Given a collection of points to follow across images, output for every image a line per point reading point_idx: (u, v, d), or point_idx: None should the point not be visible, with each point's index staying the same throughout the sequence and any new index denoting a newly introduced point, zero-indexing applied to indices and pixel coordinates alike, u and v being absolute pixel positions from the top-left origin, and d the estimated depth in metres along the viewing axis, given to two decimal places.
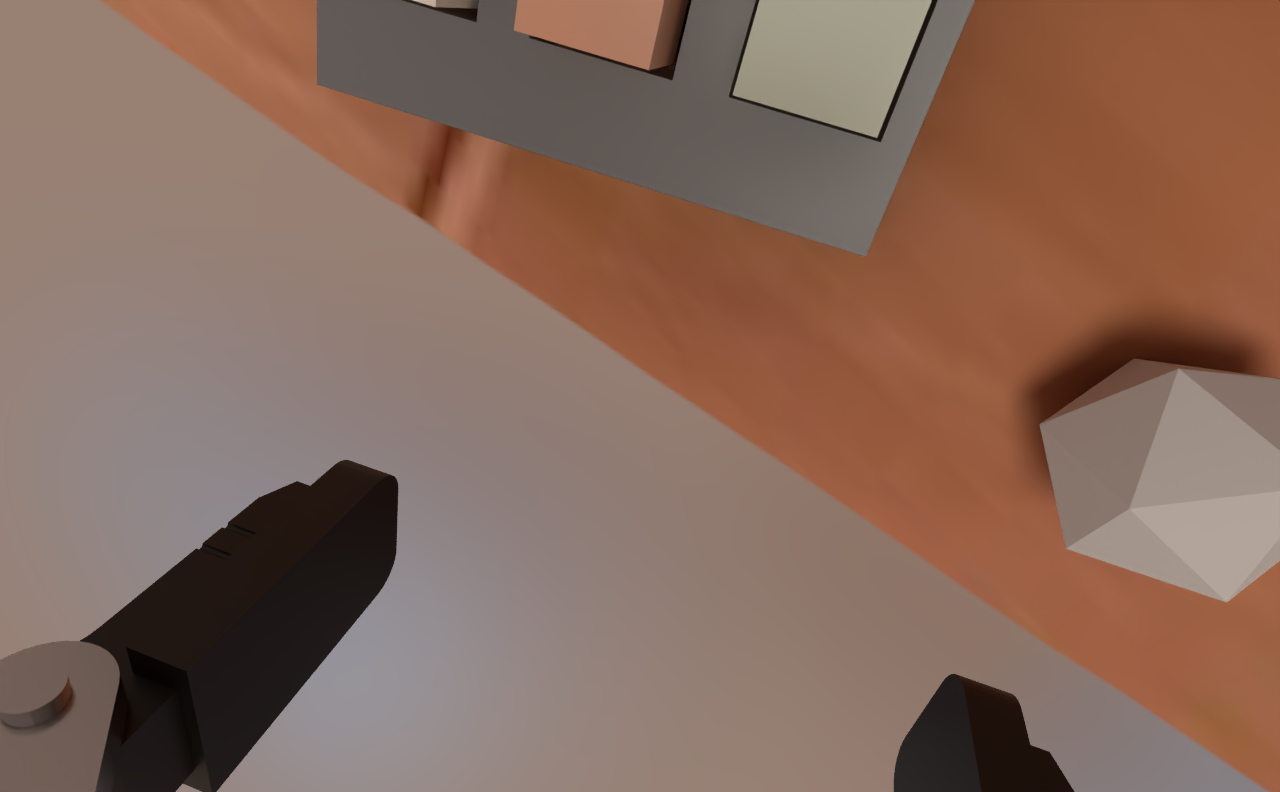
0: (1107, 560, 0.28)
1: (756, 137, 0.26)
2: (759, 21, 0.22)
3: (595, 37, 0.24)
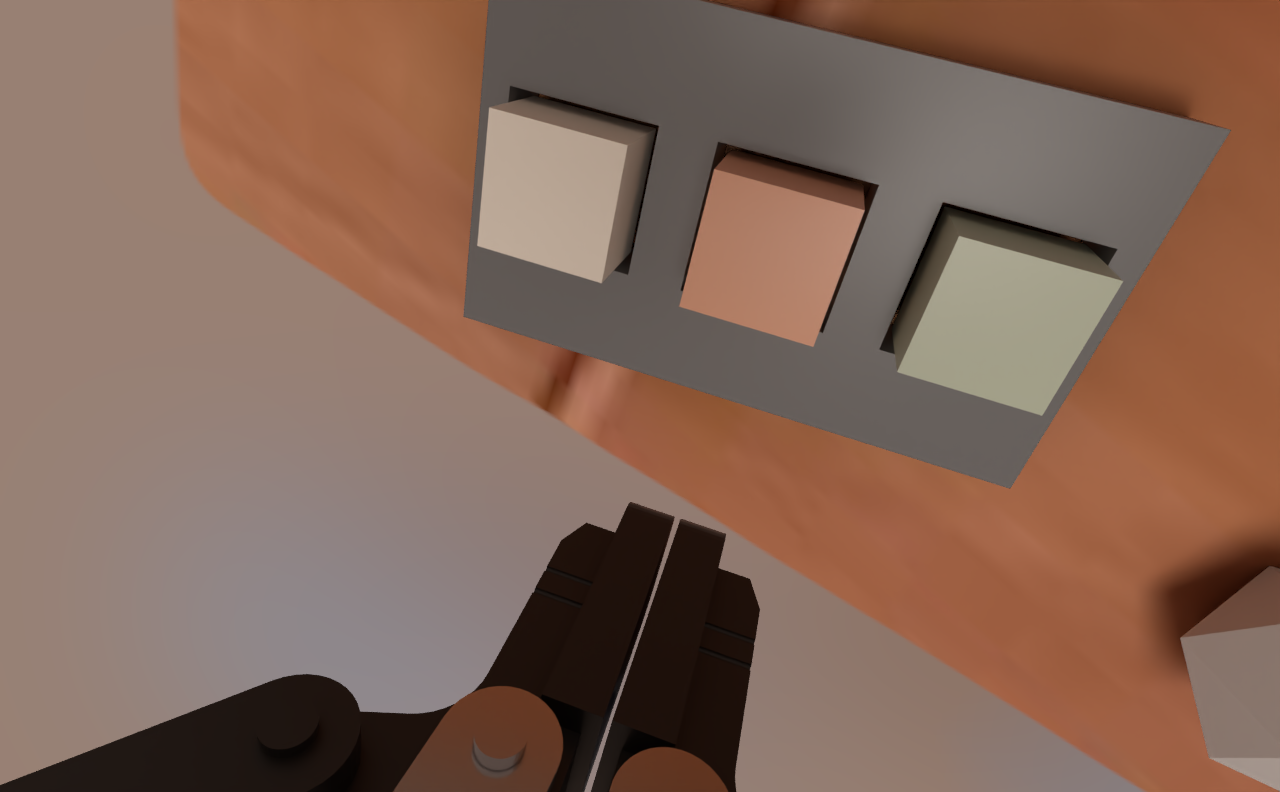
0: (1255, 778, 0.28)
1: (905, 383, 0.27)
2: (929, 315, 0.23)
3: (762, 317, 0.25)
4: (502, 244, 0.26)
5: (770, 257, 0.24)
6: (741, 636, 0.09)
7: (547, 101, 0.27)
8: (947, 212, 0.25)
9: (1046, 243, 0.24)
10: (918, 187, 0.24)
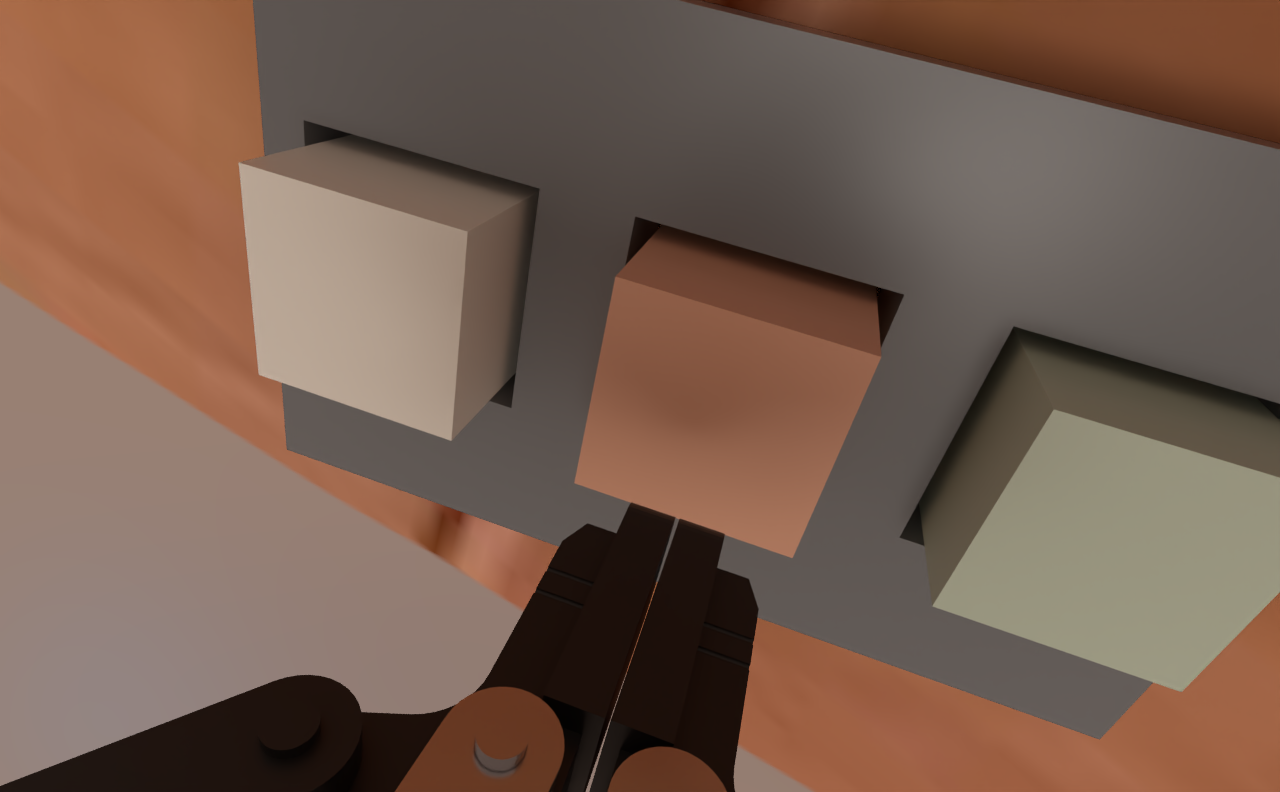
0: None
1: None
2: (992, 529, 0.13)
3: (707, 509, 0.15)
4: (295, 374, 0.16)
5: (718, 422, 0.14)
6: (740, 635, 0.09)
7: (375, 142, 0.17)
8: (1018, 337, 0.15)
9: (1194, 401, 0.14)
10: (972, 301, 0.14)
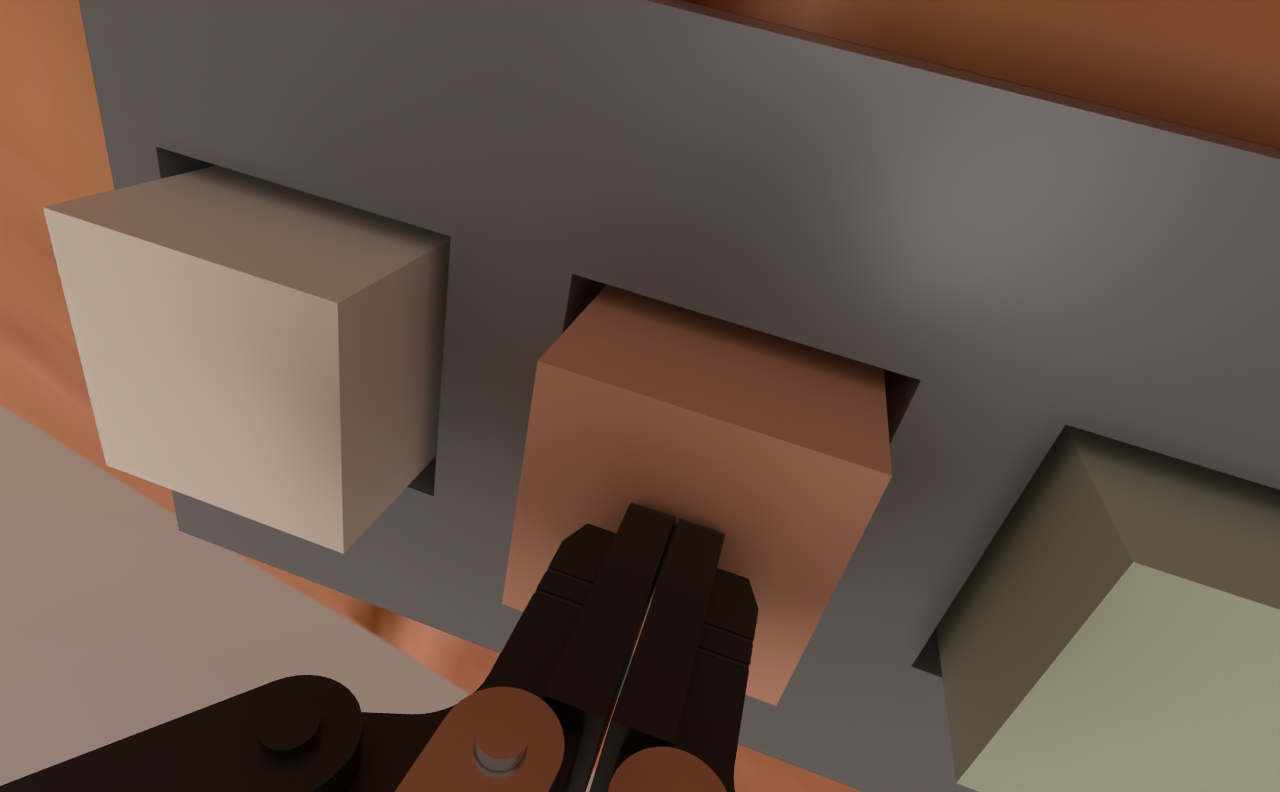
0: None
1: None
2: (1039, 701, 0.10)
3: None
4: (149, 467, 0.13)
5: None
6: (740, 636, 0.09)
7: None
8: (1067, 432, 0.11)
9: None
10: (1010, 391, 0.11)
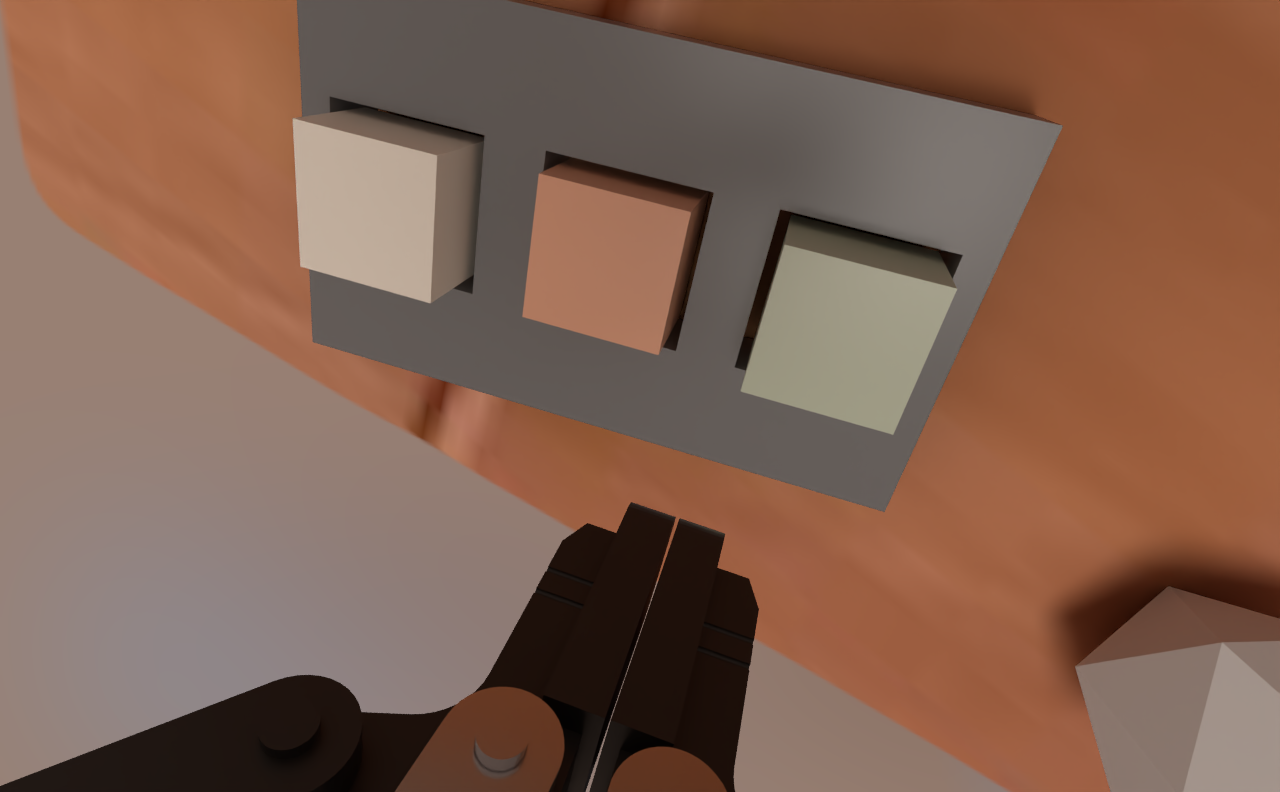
0: None
1: (765, 403, 0.26)
2: (765, 329, 0.22)
3: (604, 326, 0.24)
4: (325, 264, 0.24)
5: (605, 263, 0.23)
6: (740, 635, 0.09)
7: (376, 112, 0.25)
8: (790, 220, 0.23)
9: (889, 250, 0.22)
10: (753, 194, 0.22)
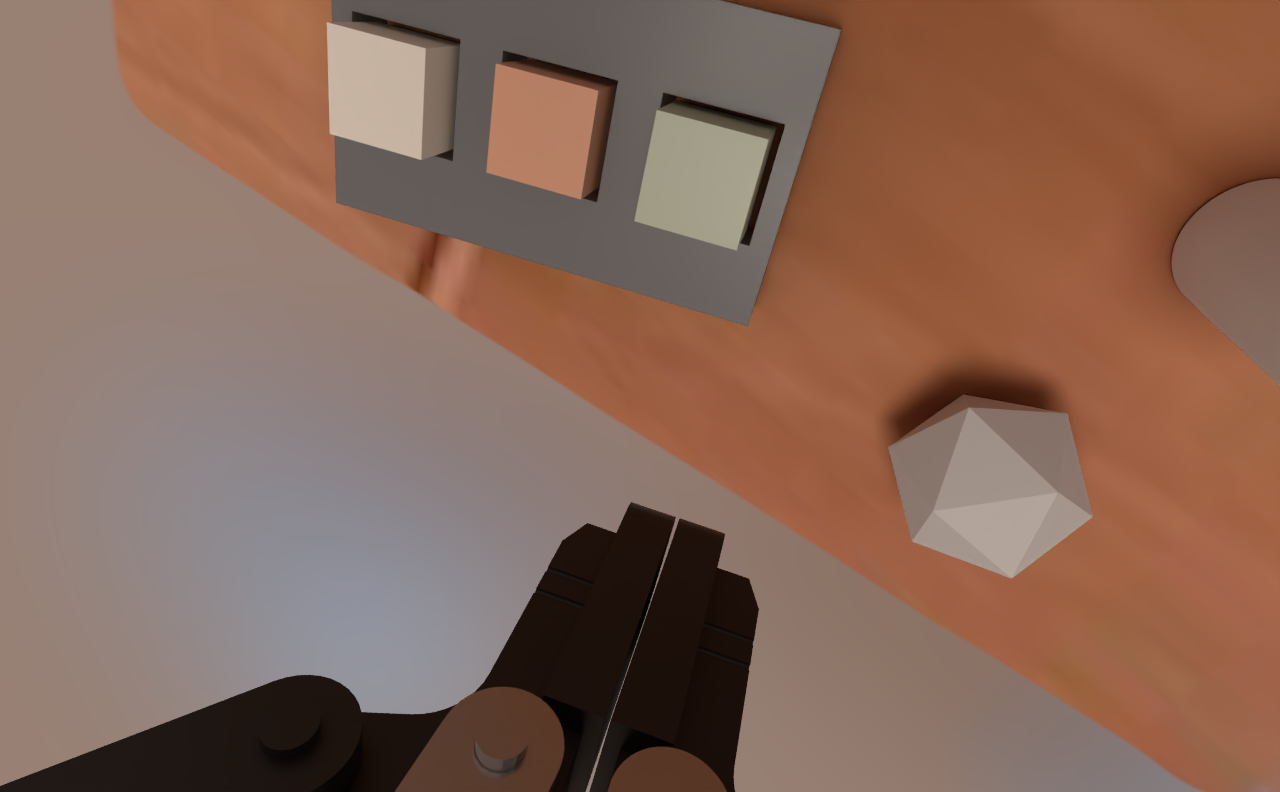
0: (937, 549, 0.37)
1: (660, 241, 0.36)
2: (647, 173, 0.32)
3: (543, 178, 0.34)
4: (347, 131, 0.35)
5: (542, 130, 0.33)
6: (740, 636, 0.09)
7: (385, 25, 0.35)
8: (672, 102, 0.33)
9: (736, 121, 0.32)
10: (645, 81, 0.32)
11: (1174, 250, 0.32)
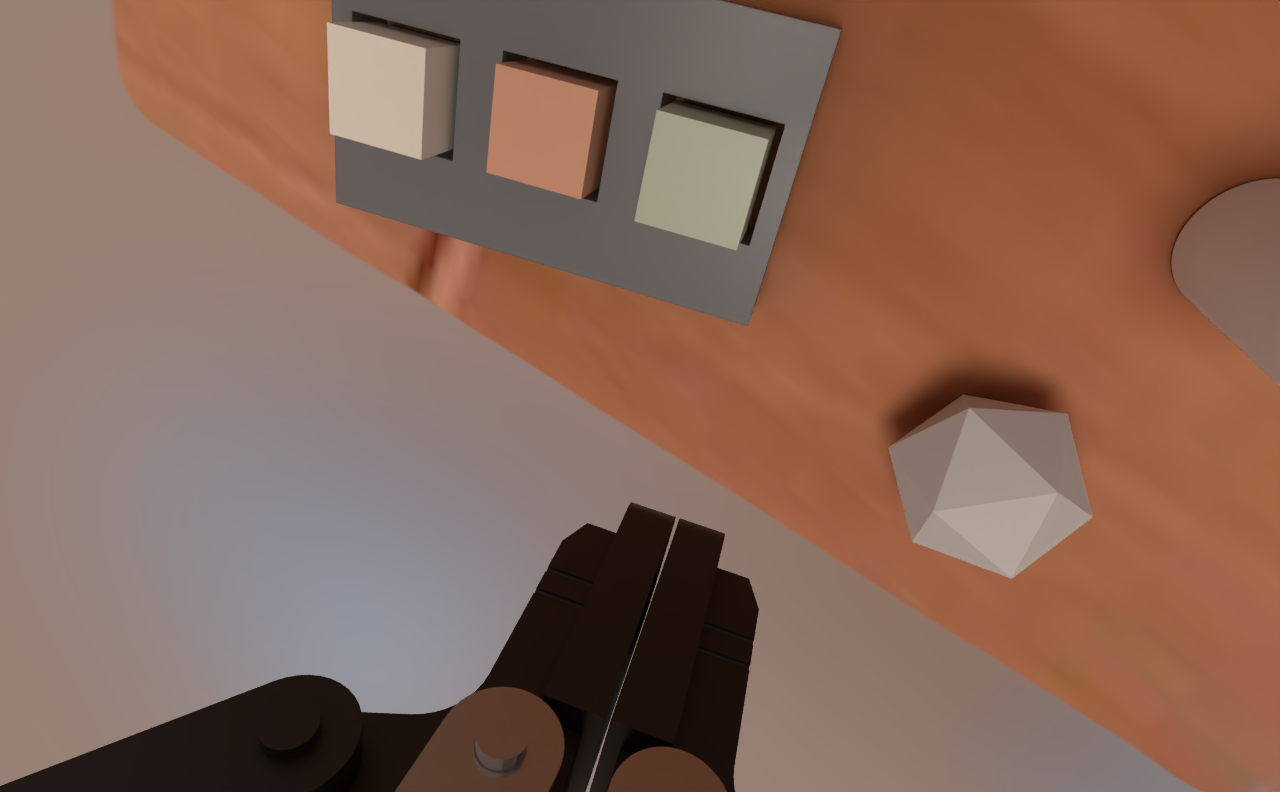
0: (937, 549, 0.37)
1: (660, 241, 0.36)
2: (647, 173, 0.32)
3: (543, 178, 0.34)
4: (347, 131, 0.35)
5: (542, 130, 0.33)
6: (740, 636, 0.09)
7: (385, 25, 0.35)
8: (672, 102, 0.33)
9: (736, 121, 0.32)
10: (645, 81, 0.32)
11: (1174, 250, 0.32)
